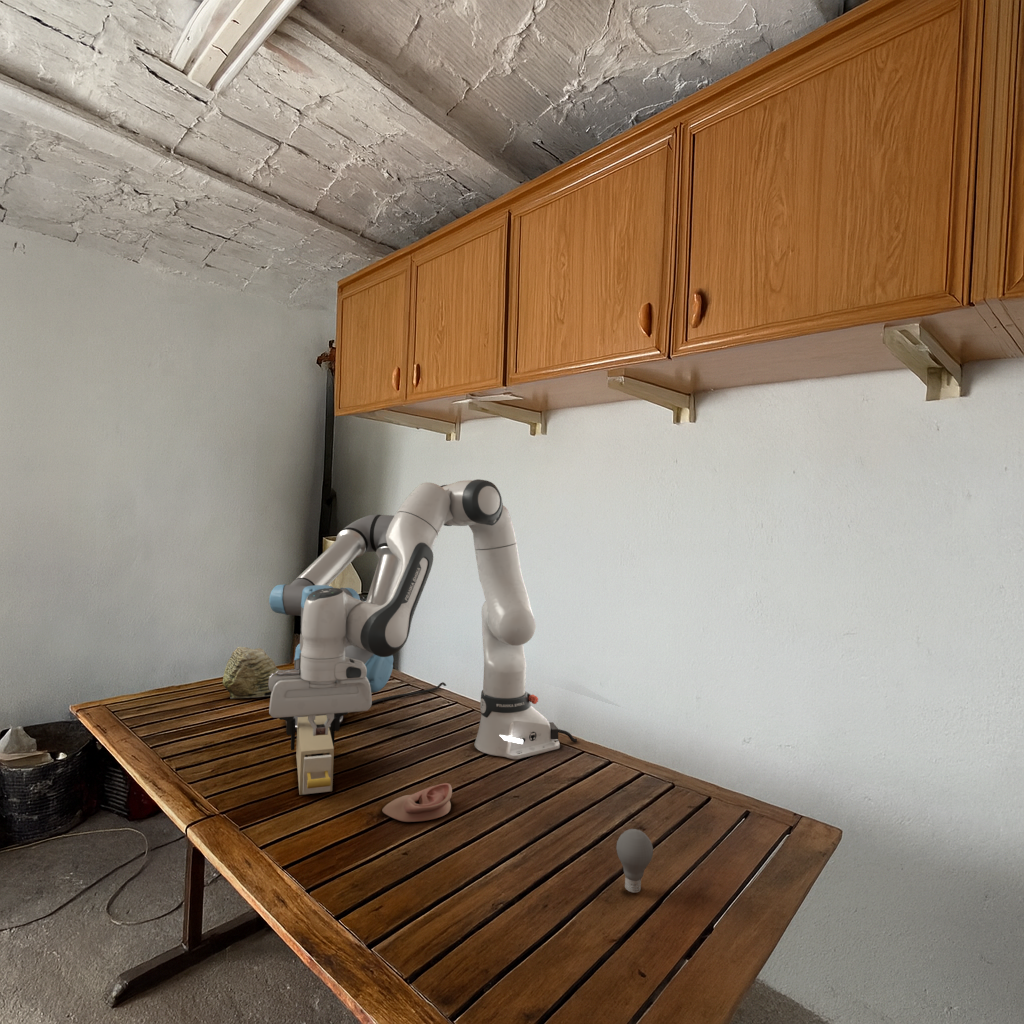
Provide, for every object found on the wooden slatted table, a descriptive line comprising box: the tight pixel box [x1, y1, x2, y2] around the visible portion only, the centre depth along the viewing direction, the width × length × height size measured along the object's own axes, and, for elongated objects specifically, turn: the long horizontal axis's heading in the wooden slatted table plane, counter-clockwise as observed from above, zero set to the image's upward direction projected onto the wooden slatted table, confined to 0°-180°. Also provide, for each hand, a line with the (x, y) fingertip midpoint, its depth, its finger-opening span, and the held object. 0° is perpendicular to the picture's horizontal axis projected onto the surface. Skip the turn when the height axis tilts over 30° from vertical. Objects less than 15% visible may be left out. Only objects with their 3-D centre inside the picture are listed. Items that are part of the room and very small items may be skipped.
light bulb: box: [615, 828, 654, 894], centre depth 106 cm, size 6×6×10 cm
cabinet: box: [295, 715, 335, 796], centre depth 145 cm, size 22×7×9 cm, turn 21°
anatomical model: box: [382, 782, 453, 823], centre depth 130 cm, size 13×4×12 cm
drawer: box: [303, 753, 332, 795], centre depth 140 cm, size 26×6×8 cm, turn 21°
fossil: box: [222, 646, 280, 699], centre depth 198 cm, size 9×18×15 cm, turn 132°
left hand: (312, 745), depth 151 cm, fingers open, 8 cm apart
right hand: (320, 734), depth 131 cm, fingers closed
